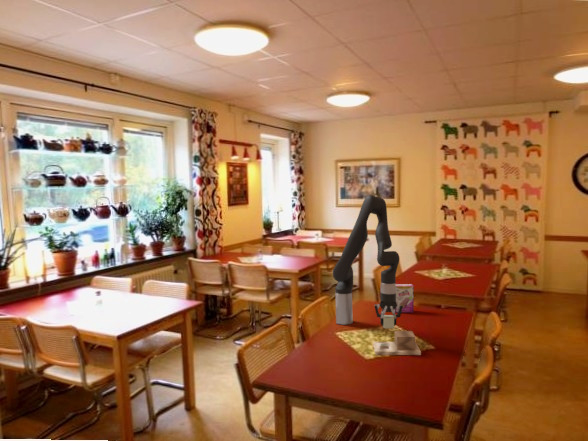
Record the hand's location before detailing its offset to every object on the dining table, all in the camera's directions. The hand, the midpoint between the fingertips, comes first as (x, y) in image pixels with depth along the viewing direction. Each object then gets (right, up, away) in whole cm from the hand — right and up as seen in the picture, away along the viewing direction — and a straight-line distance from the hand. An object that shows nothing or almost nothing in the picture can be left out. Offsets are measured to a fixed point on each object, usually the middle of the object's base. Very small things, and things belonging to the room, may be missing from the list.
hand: (388, 325), depth 205 cm
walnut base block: (+4, -6, -14) cm, 16 cm away
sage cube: (0, -1, 0) cm, 1 cm away
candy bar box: (+20, -3, +45) cm, 49 cm away
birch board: (+1, -8, -13) cm, 16 cm away
